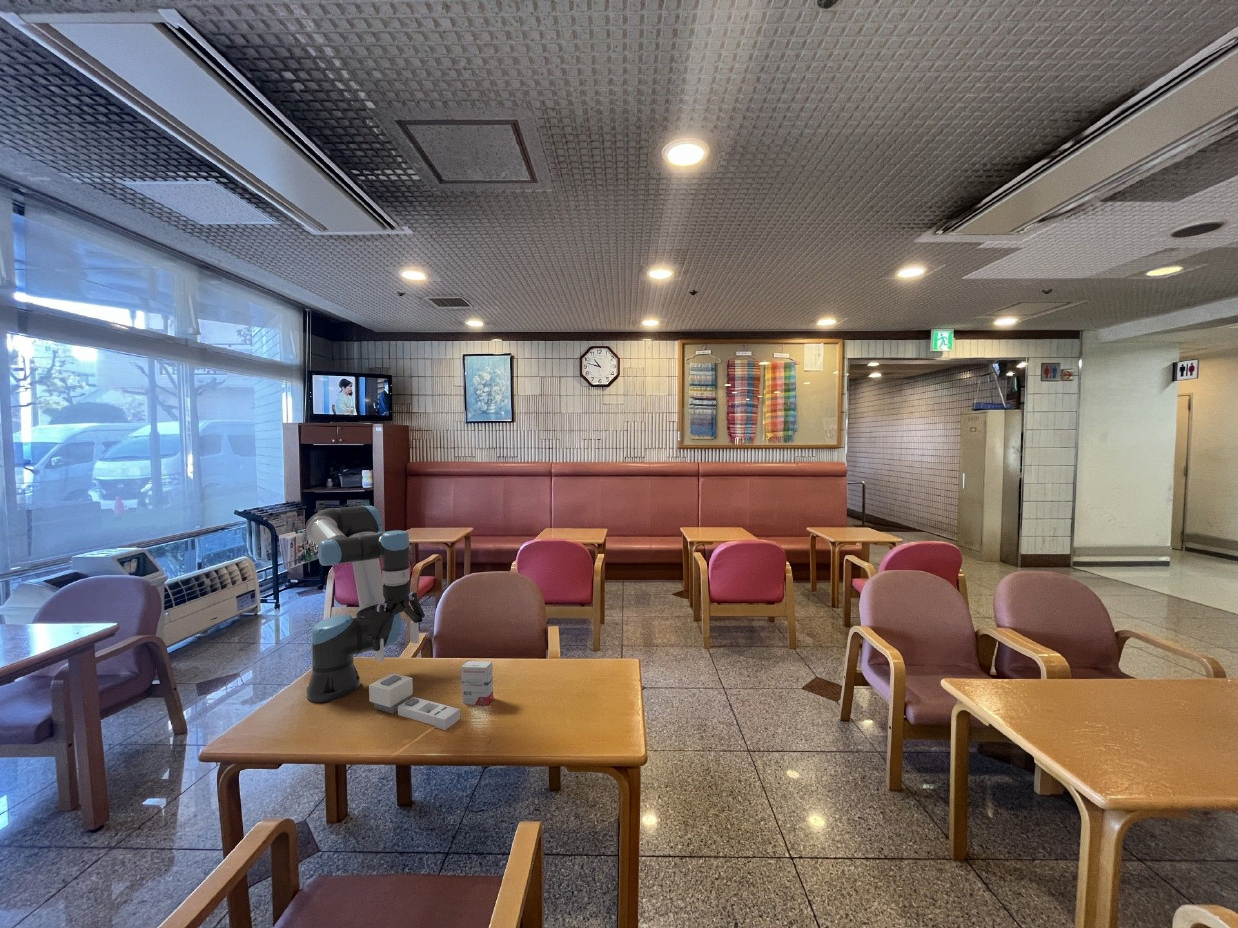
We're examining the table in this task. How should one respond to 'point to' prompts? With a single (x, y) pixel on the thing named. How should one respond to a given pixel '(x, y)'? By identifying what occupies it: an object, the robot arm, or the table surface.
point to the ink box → (477, 683)
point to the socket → (437, 716)
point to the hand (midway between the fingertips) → (397, 651)
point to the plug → (390, 689)
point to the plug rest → (392, 708)
